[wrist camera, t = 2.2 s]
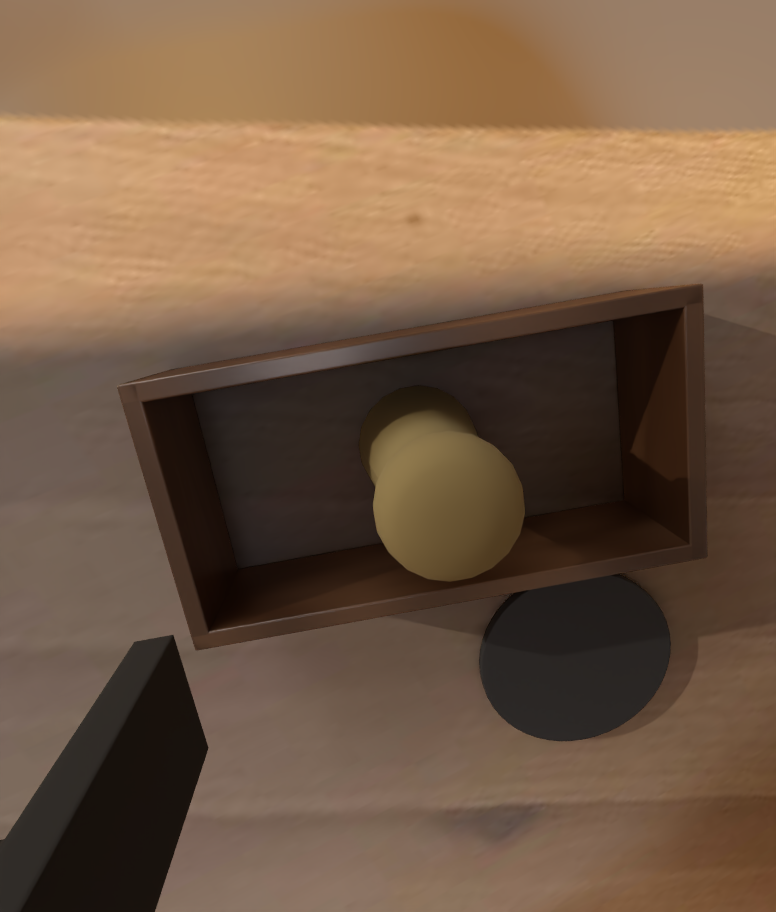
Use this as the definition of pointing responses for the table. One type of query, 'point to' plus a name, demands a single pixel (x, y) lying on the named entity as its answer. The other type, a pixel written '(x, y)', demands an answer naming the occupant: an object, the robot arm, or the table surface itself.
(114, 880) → the robot arm
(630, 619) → the coaster
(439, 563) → the cork
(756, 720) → the table surface
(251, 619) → the box
